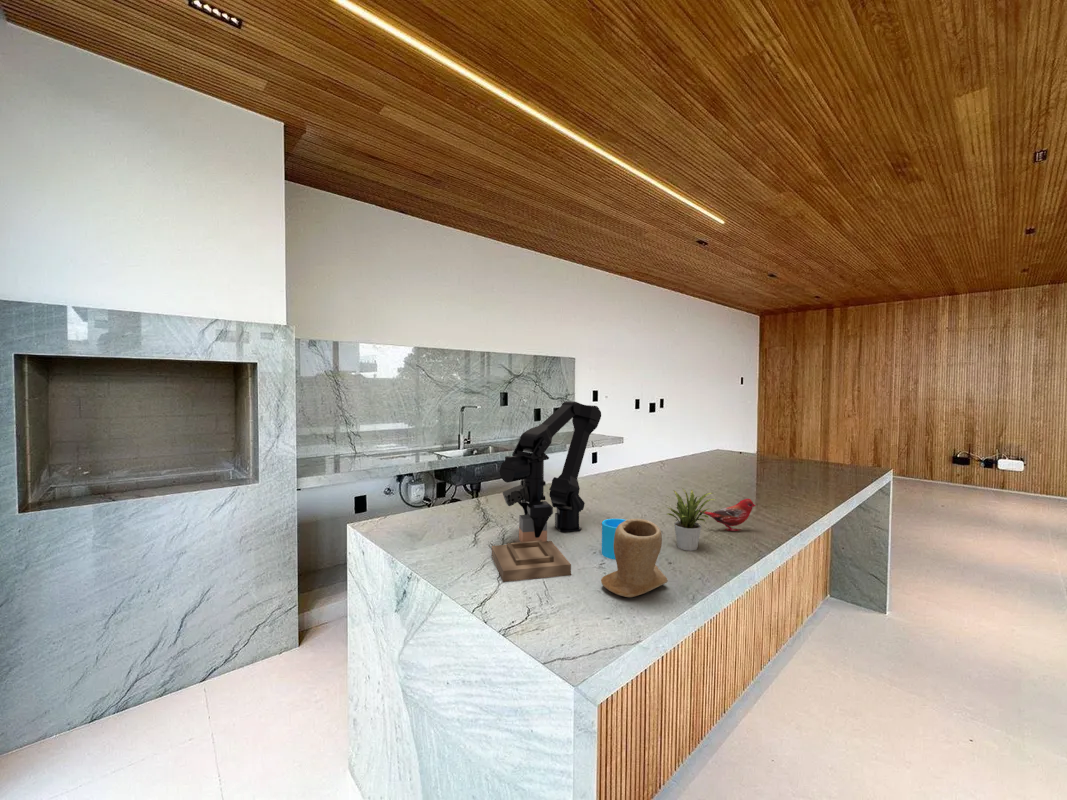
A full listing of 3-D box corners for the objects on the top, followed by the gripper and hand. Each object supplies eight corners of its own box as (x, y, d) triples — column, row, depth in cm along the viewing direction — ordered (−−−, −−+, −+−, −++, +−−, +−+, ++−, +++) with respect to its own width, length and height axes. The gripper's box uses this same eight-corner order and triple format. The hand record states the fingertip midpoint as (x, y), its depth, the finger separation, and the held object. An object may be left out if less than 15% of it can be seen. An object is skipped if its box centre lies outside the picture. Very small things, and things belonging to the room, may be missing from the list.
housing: (542, 537, 133) (542, 513, 133) (547, 542, 129) (547, 518, 128) (519, 539, 131) (519, 515, 131) (522, 545, 127) (522, 519, 127)
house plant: (728, 547, 126) (730, 488, 125) (708, 562, 116) (709, 497, 115) (679, 535, 136) (680, 480, 135) (656, 547, 126) (657, 488, 125)
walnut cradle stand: (551, 550, 123) (551, 536, 123) (570, 574, 108) (571, 559, 107) (491, 555, 119) (491, 541, 119) (503, 581, 104) (503, 565, 103)
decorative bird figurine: (757, 533, 138) (758, 500, 138) (697, 532, 139) (698, 499, 138) (753, 529, 141) (754, 497, 141) (694, 529, 141) (695, 496, 141)
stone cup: (633, 609, 92) (635, 535, 91) (593, 587, 101) (594, 519, 101) (682, 590, 100) (684, 522, 100) (641, 571, 110) (642, 509, 109)
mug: (613, 562, 115) (614, 530, 115) (595, 551, 123) (595, 520, 122) (651, 554, 121) (652, 523, 120) (631, 544, 128) (632, 515, 128)
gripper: (499, 471, 136) (498, 523, 137) (512, 485, 118) (511, 546, 119) (535, 470, 139) (535, 521, 140) (553, 483, 121) (553, 542, 122)
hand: (533, 531), depth 130 cm, fingers open, 9 cm apart
